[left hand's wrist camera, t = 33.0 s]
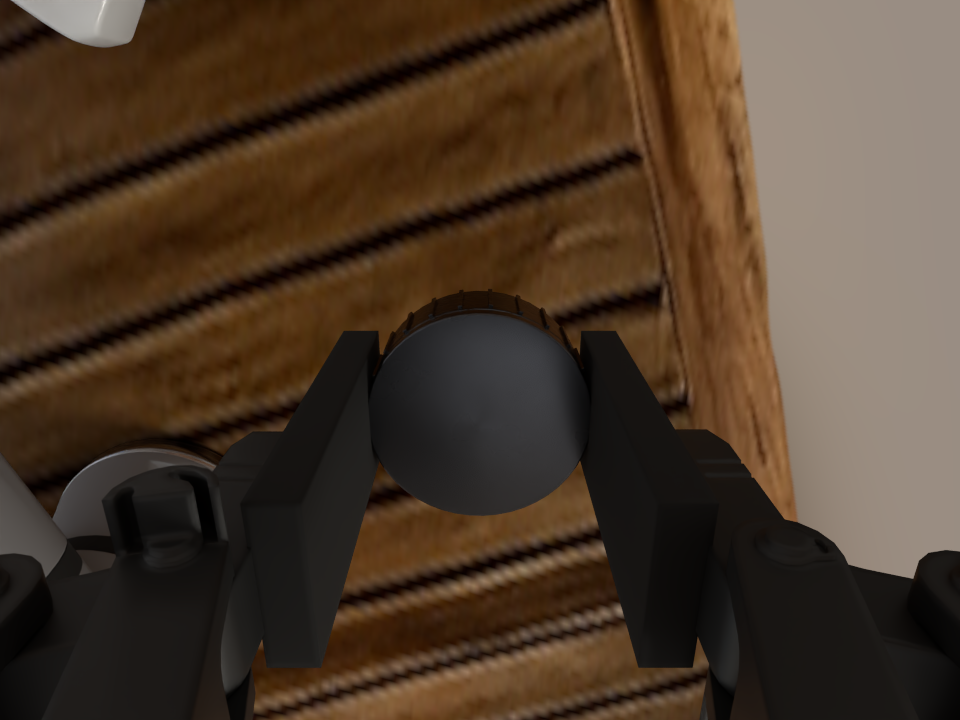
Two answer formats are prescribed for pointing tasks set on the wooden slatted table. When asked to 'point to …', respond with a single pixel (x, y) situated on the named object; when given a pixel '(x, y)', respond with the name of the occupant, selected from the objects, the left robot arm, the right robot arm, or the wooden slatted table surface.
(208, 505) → the left robot arm
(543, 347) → the cap
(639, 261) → the wooden slatted table surface
